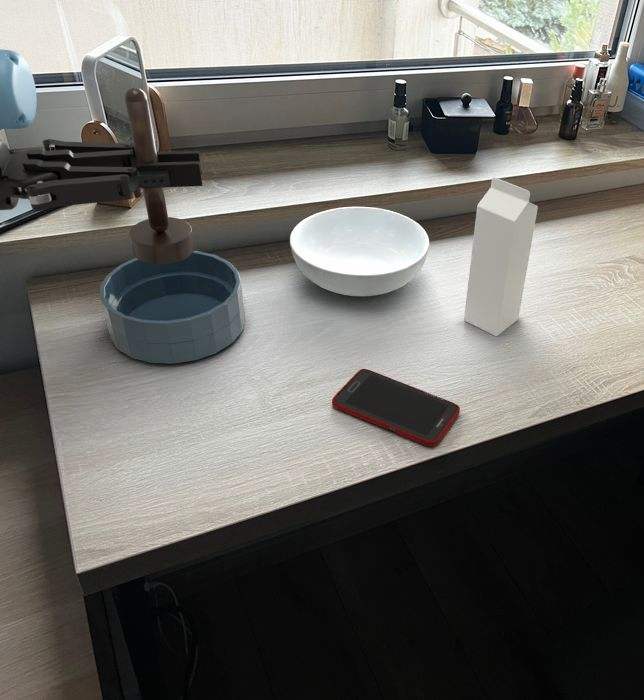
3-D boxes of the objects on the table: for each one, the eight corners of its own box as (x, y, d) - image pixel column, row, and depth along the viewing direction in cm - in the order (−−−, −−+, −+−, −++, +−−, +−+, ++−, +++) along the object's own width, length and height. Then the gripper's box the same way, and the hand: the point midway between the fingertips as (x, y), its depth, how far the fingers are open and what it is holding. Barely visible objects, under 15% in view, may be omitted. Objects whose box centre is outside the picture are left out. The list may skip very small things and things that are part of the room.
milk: (485, 304, 111) (504, 169, 97) (519, 319, 108) (542, 184, 95) (462, 321, 107) (478, 182, 93) (496, 338, 104) (518, 198, 91)
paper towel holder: (146, 270, 85) (111, 104, 73) (124, 244, 89) (88, 82, 77) (203, 254, 89) (180, 94, 76) (180, 229, 93) (154, 73, 80)
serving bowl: (401, 235, 124) (402, 199, 120) (446, 303, 110) (450, 264, 106) (279, 250, 117) (276, 212, 113) (310, 325, 102) (308, 284, 98)
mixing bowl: (140, 384, 90) (129, 339, 85) (92, 314, 99) (80, 271, 95) (267, 338, 99) (263, 296, 95) (212, 279, 109) (206, 238, 104)
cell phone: (361, 372, 95) (361, 366, 95) (462, 411, 91) (462, 405, 91) (328, 406, 90) (328, 400, 89) (434, 450, 85) (434, 444, 85)
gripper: (-8, 176, 85) (203, 169, 92) (-37, 242, 74) (206, 229, 81) (-29, 114, 80) (195, 111, 87) (-63, 174, 69) (197, 166, 76)
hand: (200, 168), depth 84 cm, fingers closed on paper towel holder, 2 cm apart
